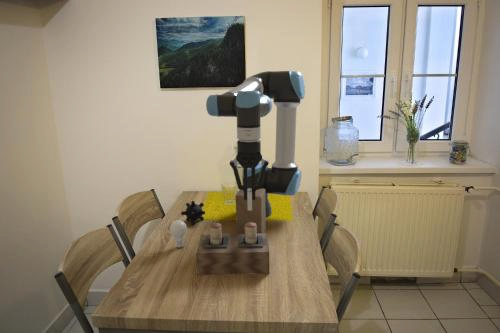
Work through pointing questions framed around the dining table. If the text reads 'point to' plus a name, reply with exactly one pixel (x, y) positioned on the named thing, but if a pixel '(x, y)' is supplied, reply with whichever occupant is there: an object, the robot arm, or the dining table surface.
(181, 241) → the lightbulb
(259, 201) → the wooden block
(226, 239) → the socket block
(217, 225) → the peg
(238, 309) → the dining table surface
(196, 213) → the toy ball
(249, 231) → the peg
